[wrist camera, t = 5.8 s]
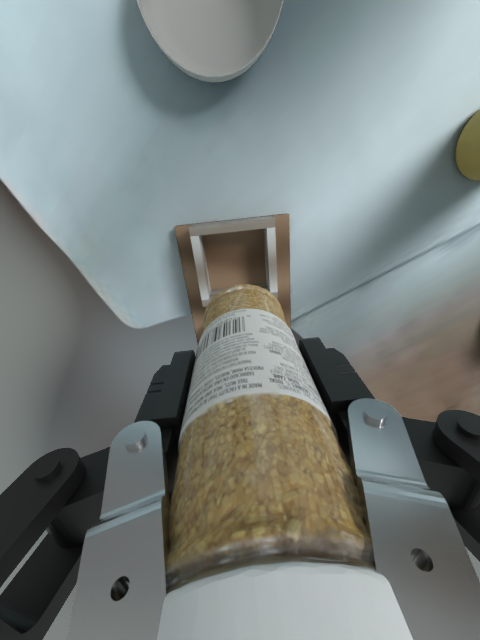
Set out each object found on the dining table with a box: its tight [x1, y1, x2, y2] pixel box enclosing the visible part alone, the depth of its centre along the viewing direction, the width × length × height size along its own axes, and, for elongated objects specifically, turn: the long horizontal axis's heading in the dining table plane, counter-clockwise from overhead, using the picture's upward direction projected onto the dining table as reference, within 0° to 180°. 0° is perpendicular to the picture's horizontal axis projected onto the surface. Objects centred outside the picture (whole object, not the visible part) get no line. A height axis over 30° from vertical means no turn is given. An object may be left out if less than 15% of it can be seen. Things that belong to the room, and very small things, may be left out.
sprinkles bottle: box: [157, 284, 413, 640], centre depth 9 cm, size 5×5×13 cm
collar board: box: [174, 214, 291, 345], centre depth 30 cm, size 19×12×4 cm, turn 6°
